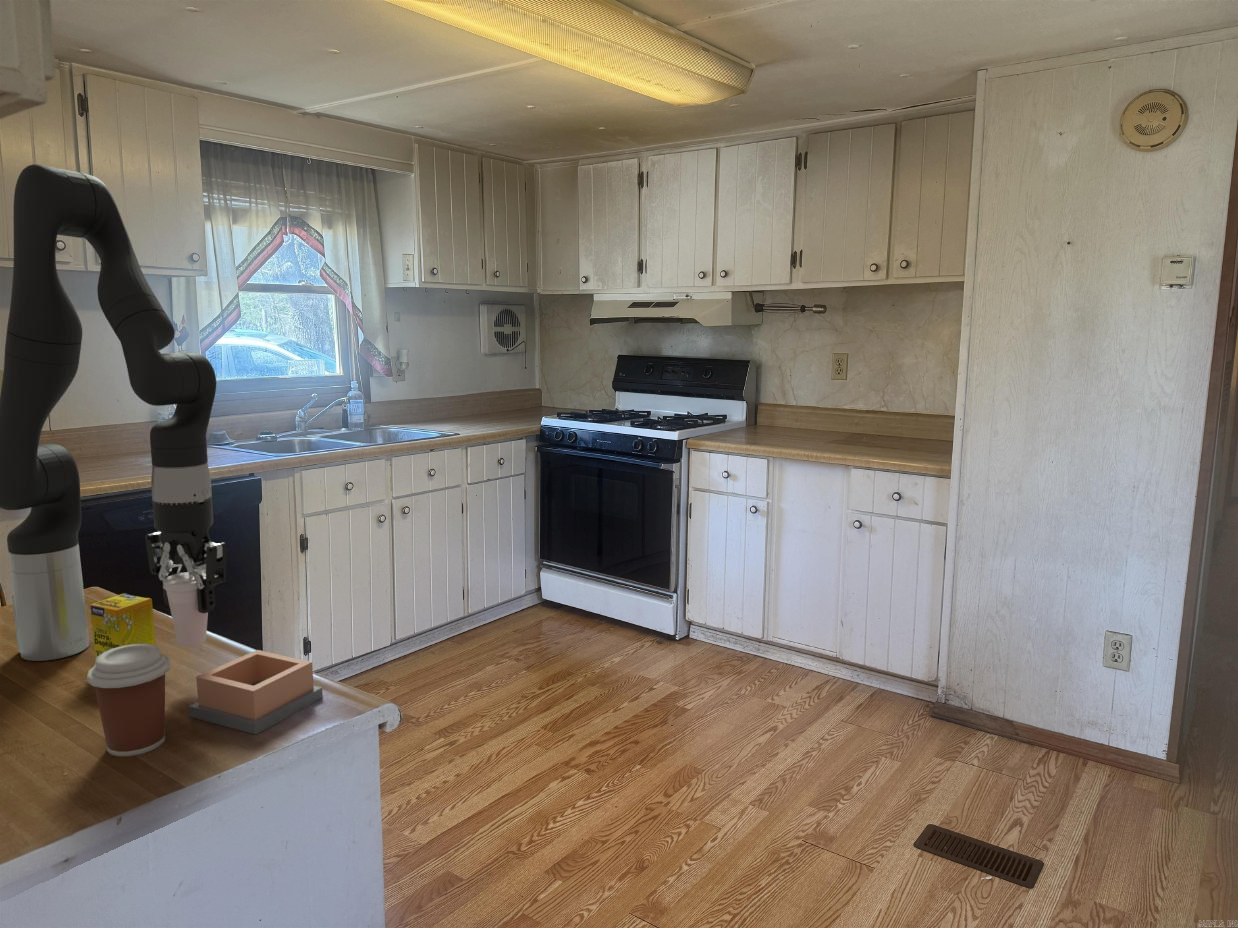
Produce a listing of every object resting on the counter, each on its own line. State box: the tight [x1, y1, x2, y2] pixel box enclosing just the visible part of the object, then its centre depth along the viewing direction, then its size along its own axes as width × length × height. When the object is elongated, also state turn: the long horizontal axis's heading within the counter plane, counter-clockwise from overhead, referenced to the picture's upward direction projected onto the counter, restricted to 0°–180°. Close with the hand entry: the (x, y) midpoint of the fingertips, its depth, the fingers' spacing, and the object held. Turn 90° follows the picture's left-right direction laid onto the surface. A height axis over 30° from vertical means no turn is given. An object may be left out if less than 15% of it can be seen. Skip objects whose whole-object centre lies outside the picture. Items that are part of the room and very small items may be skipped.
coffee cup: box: [86, 644, 171, 757], centre depth 107 cm, size 9×9×12 cm
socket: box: [188, 649, 324, 735], centre depth 117 cm, size 12×12×6 cm
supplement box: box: [89, 592, 157, 661], centre depth 129 cm, size 6×6×11 cm
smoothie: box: [162, 571, 209, 647], centre depth 123 cm, size 6×6×14 cm
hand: (189, 607), depth 123 cm, fingers closed on smoothie, 6 cm apart
